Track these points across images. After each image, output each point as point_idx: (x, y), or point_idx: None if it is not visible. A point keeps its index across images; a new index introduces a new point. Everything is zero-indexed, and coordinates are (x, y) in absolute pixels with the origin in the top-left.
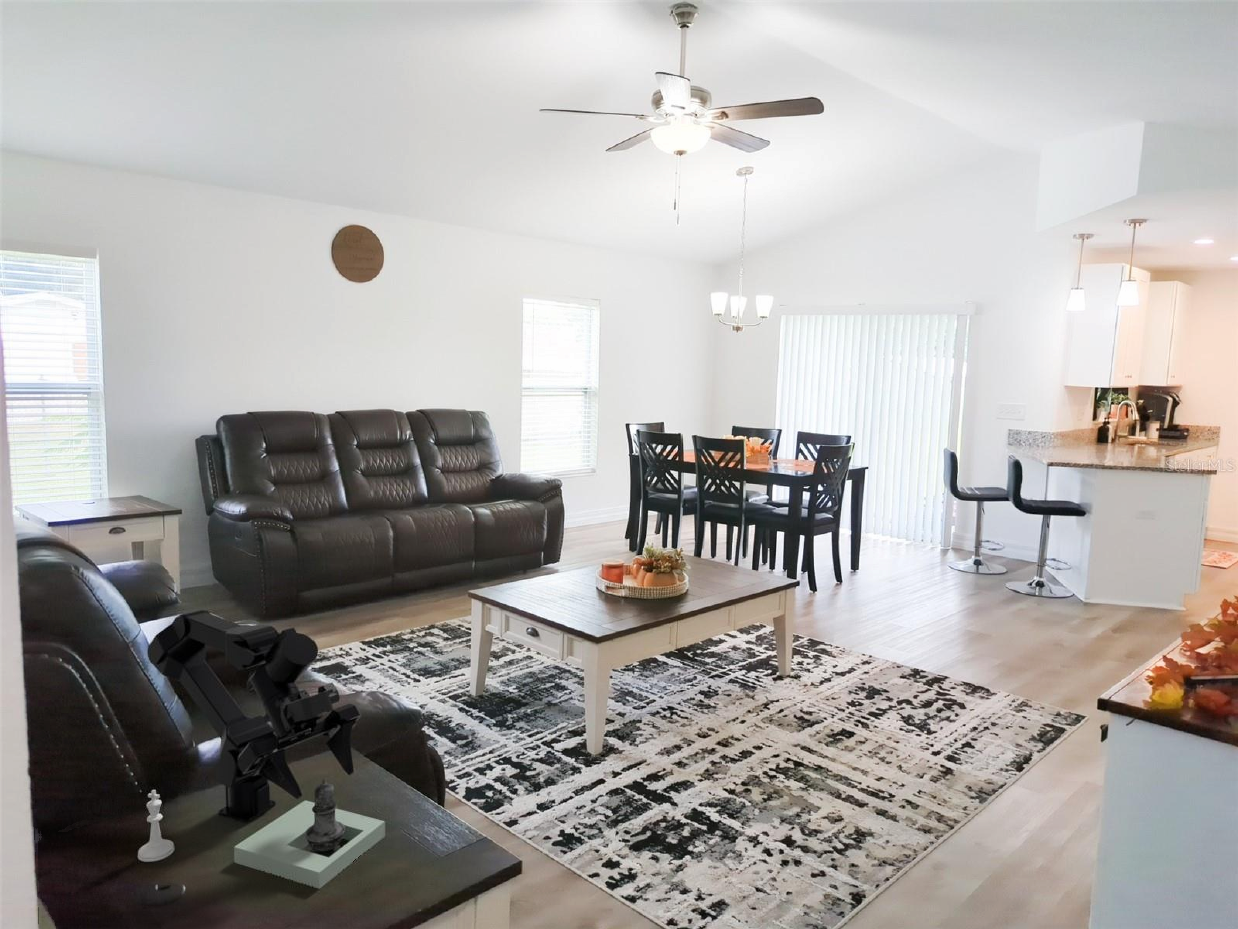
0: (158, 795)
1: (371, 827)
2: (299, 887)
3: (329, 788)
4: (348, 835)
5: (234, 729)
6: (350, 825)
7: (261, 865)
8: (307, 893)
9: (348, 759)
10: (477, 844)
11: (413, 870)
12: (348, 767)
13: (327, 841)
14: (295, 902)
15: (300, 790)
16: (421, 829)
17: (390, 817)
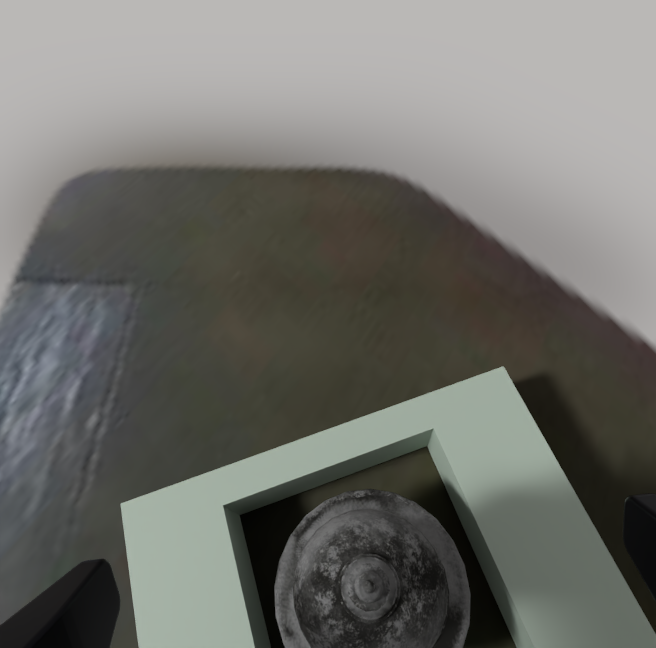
0: None
1: (187, 503)
2: None
3: (353, 522)
4: (253, 598)
5: None
6: (233, 595)
7: None
8: (530, 397)
9: (16, 644)
10: (32, 267)
11: (231, 284)
12: (84, 608)
13: (402, 499)
14: (579, 382)
15: (654, 514)
16: (41, 453)
17: None
